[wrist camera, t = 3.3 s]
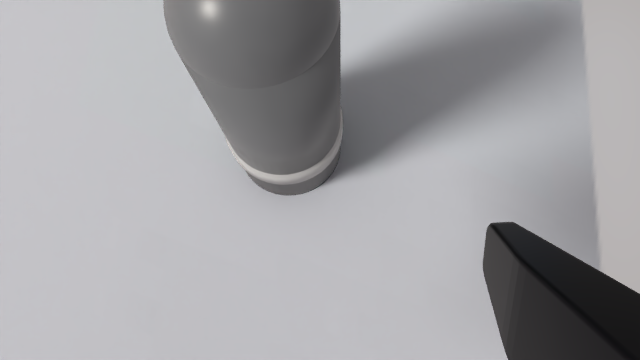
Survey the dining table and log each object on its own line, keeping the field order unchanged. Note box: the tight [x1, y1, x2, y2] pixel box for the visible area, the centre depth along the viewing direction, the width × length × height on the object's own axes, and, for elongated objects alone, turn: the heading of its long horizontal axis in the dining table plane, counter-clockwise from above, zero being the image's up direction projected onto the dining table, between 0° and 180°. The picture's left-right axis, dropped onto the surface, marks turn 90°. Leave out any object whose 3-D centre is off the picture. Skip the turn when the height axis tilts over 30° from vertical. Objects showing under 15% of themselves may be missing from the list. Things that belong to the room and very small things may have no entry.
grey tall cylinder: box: [164, 0, 343, 195], centre depth 17 cm, size 5×5×12 cm
